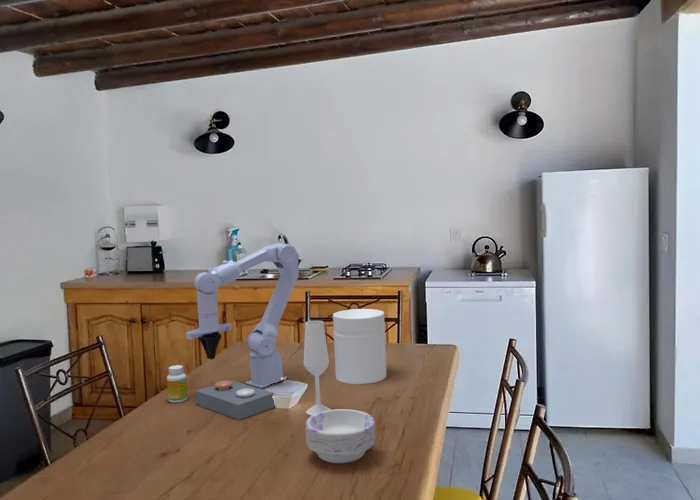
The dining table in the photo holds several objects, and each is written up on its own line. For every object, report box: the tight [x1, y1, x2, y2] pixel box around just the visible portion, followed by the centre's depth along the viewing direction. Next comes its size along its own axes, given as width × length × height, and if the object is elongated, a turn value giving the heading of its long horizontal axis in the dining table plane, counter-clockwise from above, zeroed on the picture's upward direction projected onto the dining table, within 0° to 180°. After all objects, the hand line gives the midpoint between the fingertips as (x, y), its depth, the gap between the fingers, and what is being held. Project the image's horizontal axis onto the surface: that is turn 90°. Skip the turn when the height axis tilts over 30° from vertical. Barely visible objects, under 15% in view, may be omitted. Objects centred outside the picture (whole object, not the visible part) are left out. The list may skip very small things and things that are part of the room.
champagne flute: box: [303, 320, 332, 416], centre depth 163 cm, size 7×7×24 cm
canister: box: [332, 308, 387, 385], centre depth 193 cm, size 16×16×20 cm
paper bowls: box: [305, 408, 376, 464], centre depth 135 cm, size 15×15×8 cm
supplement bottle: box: [166, 364, 188, 404], centre depth 178 cm, size 5×5×10 cm
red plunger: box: [214, 379, 233, 391], centre depth 174 cm, size 5×5×4 cm
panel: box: [195, 379, 276, 421], centre depth 171 cm, size 12×20×4 cm, turn 47°
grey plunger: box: [236, 389, 254, 398], centre depth 167 cm, size 5×5×4 cm
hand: (211, 358), depth 182 cm, fingers closed
